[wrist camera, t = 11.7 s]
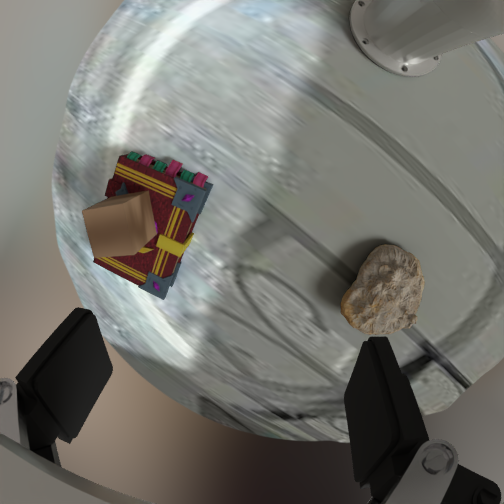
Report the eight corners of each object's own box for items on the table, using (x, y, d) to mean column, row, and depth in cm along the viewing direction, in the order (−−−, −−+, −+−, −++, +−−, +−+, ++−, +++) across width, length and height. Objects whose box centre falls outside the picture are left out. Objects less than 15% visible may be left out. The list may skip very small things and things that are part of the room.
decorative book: (106, 249, 39) (88, 264, 34) (137, 142, 33) (118, 144, 28) (174, 283, 40) (163, 302, 35) (218, 176, 34) (209, 182, 29)
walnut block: (111, 196, 30) (82, 210, 25) (148, 190, 30) (122, 203, 24) (120, 237, 32) (94, 257, 27) (156, 233, 32) (134, 254, 26)
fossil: (373, 228, 34) (443, 265, 28) (385, 246, 41) (441, 278, 35) (325, 312, 35) (390, 356, 29) (345, 316, 42) (398, 352, 36)
